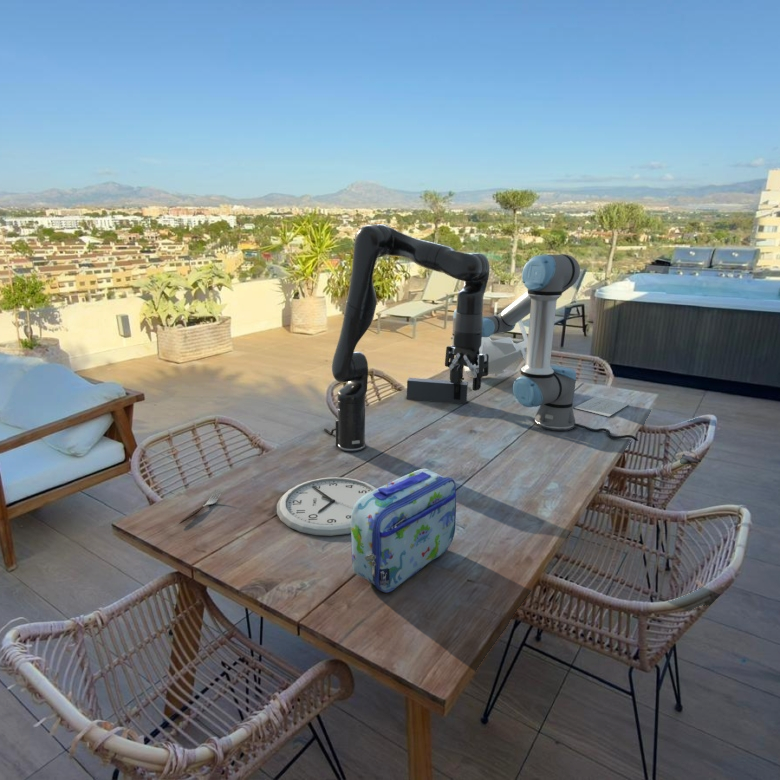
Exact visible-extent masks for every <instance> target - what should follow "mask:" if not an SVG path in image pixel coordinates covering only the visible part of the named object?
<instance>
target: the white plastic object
mask: <svg viewBox="0 0 780 780" xmlns="http://www.w3.org/2000/svg"><path fill="white" fill-rule="evenodd" d="M517 324H518V326H519V329H520V332H521V335H522V338H523V340H522V341H520V342H517V343H516V342H514V340H513V339H512V337H511V336H508V337H503V338H498V339H493V340H492V339H491V337H490V336H489V337H482V341H481V347H480V348H479V353H480V354H488V356H489V362H488V375H495V376H497V375H500V374H503V373H505V370H506V369H508V368H509V367H510V366H512V365H513V364H515V363H517V361H518V360H520V359H522V358H523V359H524V360H523V361H524V365H525V364H526V355H527V344H528V334H527V331H526V328H525V325H524V322H523V319H521V320H520V321H519V322H517ZM478 360H479V359H478ZM473 366H476V365H475V364H474V365H473ZM463 370H464V372H465V374H466V375H467V376H468V377H474V376H473V373H472V371H470V370H469V367H466V366H464V367H463ZM476 371H477V370H476ZM483 372H484V369H483ZM477 373H478V372H477Z"/></svg>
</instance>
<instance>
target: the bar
mask: <svg viewBox="0 0 780 780" xmlns="http://www.w3.org/2000/svg"><path fill="white" fill-rule="evenodd" d="M453 384H454V383H451V382H450V380H444V379H430V378H419V377H418V378H417V377H408V379H407V381H406V400H414V401H415V400H416V401H426V402H427V401H428V402H440V403H451V404H463V405H466V404H467V401H468V390H469V389H468V388H469V387H468V386H469V382H468V381H462V382H461V392H460V400H456V399H454V385H453Z"/></svg>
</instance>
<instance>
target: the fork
mask: <svg viewBox="0 0 780 780" xmlns="http://www.w3.org/2000/svg"><path fill="white" fill-rule="evenodd" d="M222 493H223V491H221V490H219V489H217V490H216V489H215V490H214V492H213V493H212V495H211V496H210V498H209V499H208V500H207V501H206V502H205V504H203V505H202V506H200V507H198V508H196V509H194V510H192V512H191V513H189V514H188V515H187V516H186V517H185V518H183V519H182V520H181V521H180V522H179V523H178V525H180V524H182V523H184V522H186V521H187V520H189V519H191V518H192V517H194V516H195V515H197V514H198V513H199V512H201V511H202V510H203V509H204V508H205V507H206V506H210V505H215V504H216V503H217V502H218V500H219V498H220V497H221V495H222Z"/></svg>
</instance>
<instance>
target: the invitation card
mask: <svg viewBox="0 0 780 780" xmlns="http://www.w3.org/2000/svg"><path fill="white" fill-rule="evenodd" d="M628 406H629V404H627V403H623V402H618V401H614V400H609V399H605V398H601V397H596V396H593V397H592V398H590V399H588V400H586V401H584V402H582V403H580V404H578V405H575V406H574V407H573V409H575V410H581V411H584V412H587V413H593V414H596V415H600V416H604V417H608V418H609V417H611V416H613V415H614V414H616V413H617V412H619V411H621V410H623V409H624V408H626V407H628Z"/></svg>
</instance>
